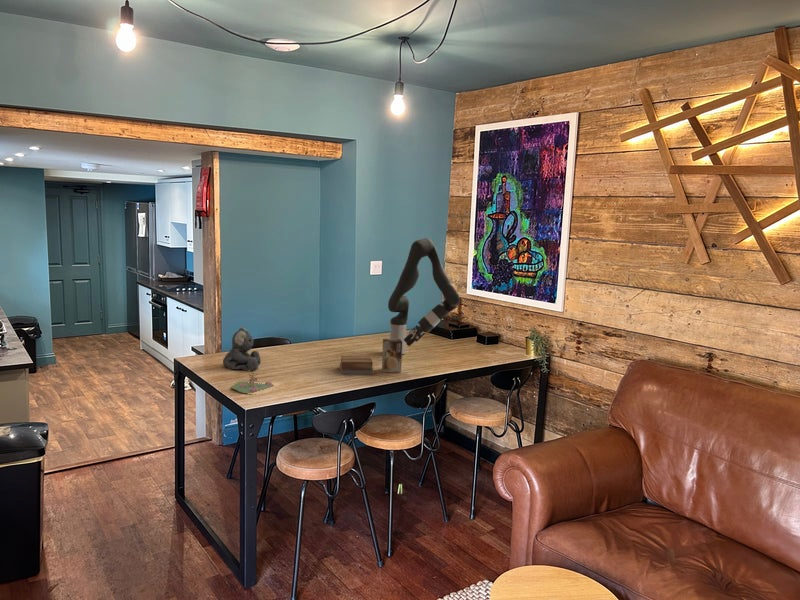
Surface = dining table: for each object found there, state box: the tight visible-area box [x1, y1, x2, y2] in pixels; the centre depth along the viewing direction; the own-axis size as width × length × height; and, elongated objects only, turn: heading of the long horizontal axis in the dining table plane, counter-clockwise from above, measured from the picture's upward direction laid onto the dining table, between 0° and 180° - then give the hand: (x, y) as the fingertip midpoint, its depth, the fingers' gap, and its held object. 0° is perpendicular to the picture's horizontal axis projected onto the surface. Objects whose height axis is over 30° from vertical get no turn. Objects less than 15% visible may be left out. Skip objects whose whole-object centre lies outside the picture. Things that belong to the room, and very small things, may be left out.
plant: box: [230, 370, 274, 394], centre depth 266 cm, size 25×21×9 cm
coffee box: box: [381, 338, 403, 373], centre depth 304 cm, size 9×6×16 cm
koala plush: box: [222, 326, 262, 371], centre depth 297 cm, size 17×18×20 cm
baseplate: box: [339, 362, 374, 376], centre depth 301 cm, size 14×16×2 cm
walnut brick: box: [340, 355, 374, 370], centre depth 301 cm, size 12×15×4 cm
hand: (406, 343), depth 304 cm, fingers open, 8 cm apart
